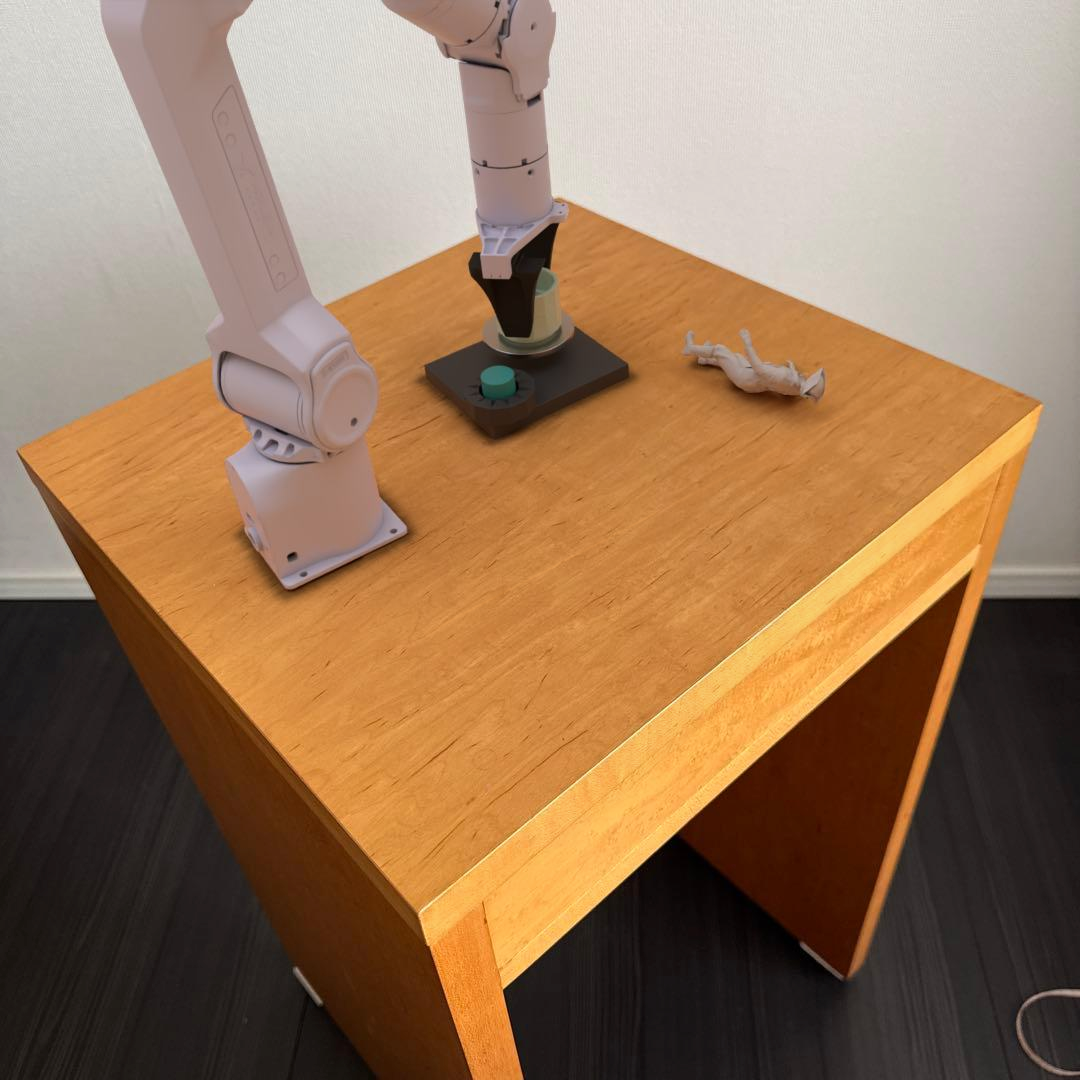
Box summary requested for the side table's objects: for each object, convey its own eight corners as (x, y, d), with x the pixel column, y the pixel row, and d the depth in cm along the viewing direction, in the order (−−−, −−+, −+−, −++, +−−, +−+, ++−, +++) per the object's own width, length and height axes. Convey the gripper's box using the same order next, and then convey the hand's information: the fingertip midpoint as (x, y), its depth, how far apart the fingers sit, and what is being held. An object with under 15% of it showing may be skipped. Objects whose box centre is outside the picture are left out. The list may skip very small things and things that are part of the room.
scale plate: (514, 370, 89) (513, 365, 88) (465, 331, 94) (464, 326, 93) (592, 335, 91) (592, 330, 91) (541, 299, 96) (540, 294, 96)
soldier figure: (727, 353, 95) (856, 355, 87) (715, 409, 95) (843, 416, 86) (674, 322, 89) (806, 321, 81) (661, 381, 89) (792, 386, 81)
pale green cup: (520, 353, 89) (515, 307, 87) (485, 326, 93) (478, 280, 90) (574, 329, 91) (571, 283, 88) (538, 303, 95) (533, 258, 92)
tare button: (494, 405, 86) (491, 388, 85) (476, 390, 88) (474, 373, 87) (522, 392, 87) (520, 376, 86) (504, 378, 89) (502, 361, 88)
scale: (491, 449, 86) (487, 417, 84) (418, 382, 94) (412, 351, 92) (634, 382, 91) (633, 350, 89) (554, 323, 99) (551, 293, 97)
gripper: (543, 197, 76) (557, 366, 85) (580, 111, 86) (589, 270, 95) (443, 196, 77) (468, 362, 87) (491, 112, 88) (509, 268, 97)
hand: (526, 313), depth 91 cm, fingers open, 6 cm apart
